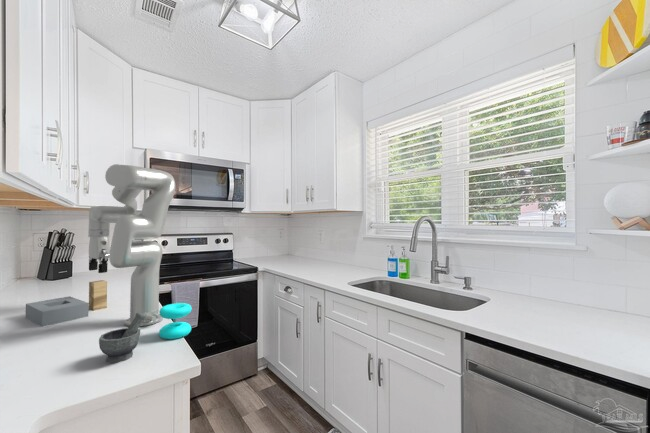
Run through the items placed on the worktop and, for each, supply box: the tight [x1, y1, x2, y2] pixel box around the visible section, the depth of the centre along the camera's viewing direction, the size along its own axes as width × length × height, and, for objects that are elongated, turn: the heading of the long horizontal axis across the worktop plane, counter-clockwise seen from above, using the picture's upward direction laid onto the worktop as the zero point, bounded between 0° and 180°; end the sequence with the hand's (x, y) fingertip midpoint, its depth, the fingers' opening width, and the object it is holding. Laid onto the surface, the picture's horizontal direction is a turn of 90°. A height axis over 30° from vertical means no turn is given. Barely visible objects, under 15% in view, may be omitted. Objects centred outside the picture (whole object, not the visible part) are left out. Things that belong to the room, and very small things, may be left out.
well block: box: [25, 295, 89, 328], centre depth 119 cm, size 20×14×6 cm
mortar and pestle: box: [98, 313, 146, 364], centre depth 84 cm, size 11×9×12 cm
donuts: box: [158, 302, 192, 340], centre depth 101 cm, size 10×10×10 cm
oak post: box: [88, 279, 108, 311], centre depth 131 cm, size 5×5×12 cm
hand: (97, 271), depth 131 cm, fingers open, 9 cm apart
